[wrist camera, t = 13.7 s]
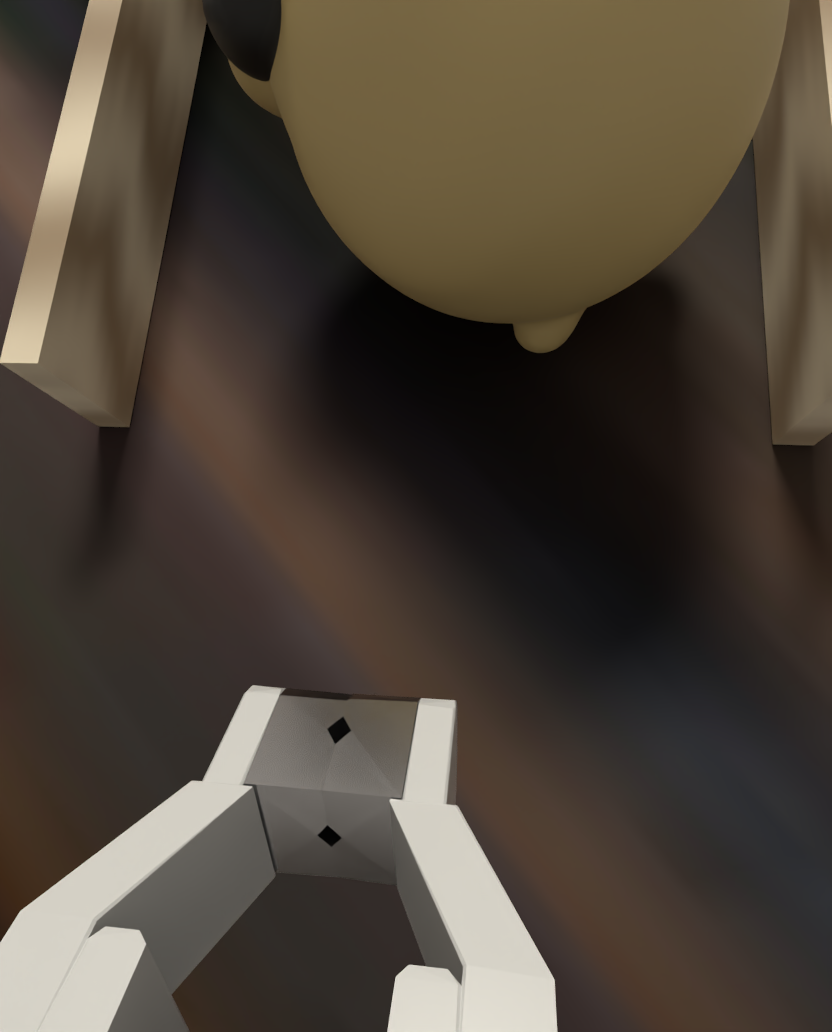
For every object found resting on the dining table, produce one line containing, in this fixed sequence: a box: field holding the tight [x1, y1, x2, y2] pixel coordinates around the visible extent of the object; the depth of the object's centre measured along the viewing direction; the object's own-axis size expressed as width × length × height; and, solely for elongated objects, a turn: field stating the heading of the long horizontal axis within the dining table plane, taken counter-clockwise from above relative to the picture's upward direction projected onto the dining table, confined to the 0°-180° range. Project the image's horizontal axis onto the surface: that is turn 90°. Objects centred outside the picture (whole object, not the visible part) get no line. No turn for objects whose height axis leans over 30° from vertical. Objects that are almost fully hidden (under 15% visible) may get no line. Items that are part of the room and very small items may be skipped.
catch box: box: [0, 0, 832, 445], centre depth 18 cm, size 20×20×4 cm
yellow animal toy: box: [202, 0, 790, 353], centre depth 14 cm, size 10×12×11 cm
